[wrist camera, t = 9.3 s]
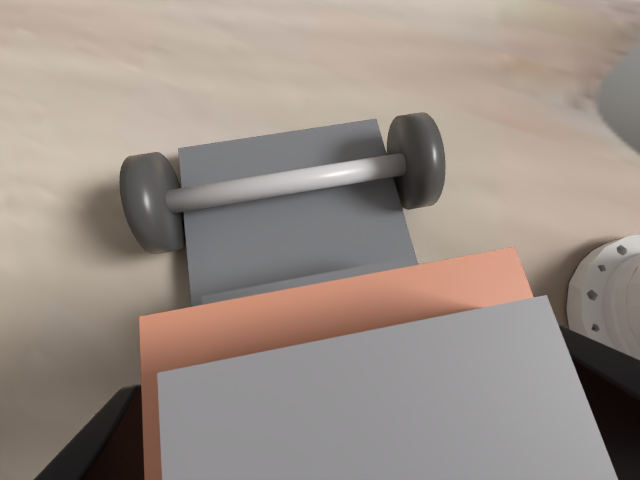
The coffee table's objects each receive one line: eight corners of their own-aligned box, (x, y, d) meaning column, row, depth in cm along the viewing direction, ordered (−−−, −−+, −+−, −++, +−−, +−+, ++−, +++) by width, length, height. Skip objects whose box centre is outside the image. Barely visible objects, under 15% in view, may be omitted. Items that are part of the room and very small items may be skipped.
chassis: (513, 525, 16) (603, 605, 11) (192, 610, 14) (133, 744, 10) (393, 127, 22) (416, 66, 17) (162, 162, 21) (117, 107, 16)
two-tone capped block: (389, 424, 16) (932, 986, 2) (283, 448, 15) (50, 1364, 2) (364, 316, 17) (583, 214, 3) (267, 336, 17) (73, 307, 3)
